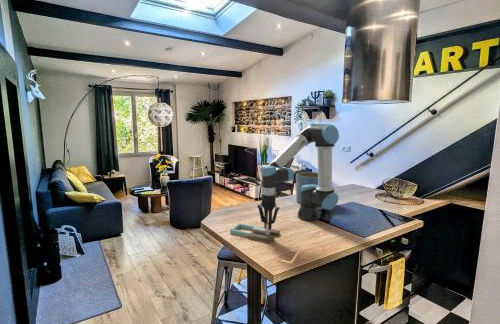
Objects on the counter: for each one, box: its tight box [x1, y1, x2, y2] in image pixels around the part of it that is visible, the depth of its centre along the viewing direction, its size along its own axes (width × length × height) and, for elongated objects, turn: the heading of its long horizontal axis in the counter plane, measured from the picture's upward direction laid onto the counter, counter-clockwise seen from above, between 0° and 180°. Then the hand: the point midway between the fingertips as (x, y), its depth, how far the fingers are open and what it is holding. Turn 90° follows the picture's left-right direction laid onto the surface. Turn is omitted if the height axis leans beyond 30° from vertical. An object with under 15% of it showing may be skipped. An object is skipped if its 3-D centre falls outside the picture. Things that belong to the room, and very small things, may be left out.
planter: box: [295, 171, 318, 204], centre depth 222 cm, size 23×23×24 cm
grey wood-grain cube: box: [259, 226, 268, 236], centre depth 154 cm, size 4×4×4 cm
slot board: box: [247, 226, 281, 244], centre depth 154 cm, size 14×14×3 cm
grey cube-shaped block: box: [252, 225, 262, 234], centre depth 156 cm, size 4×4×4 cm
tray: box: [229, 222, 256, 238], centre depth 160 cm, size 11×12×3 cm
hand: (267, 234), depth 153 cm, fingers closed
